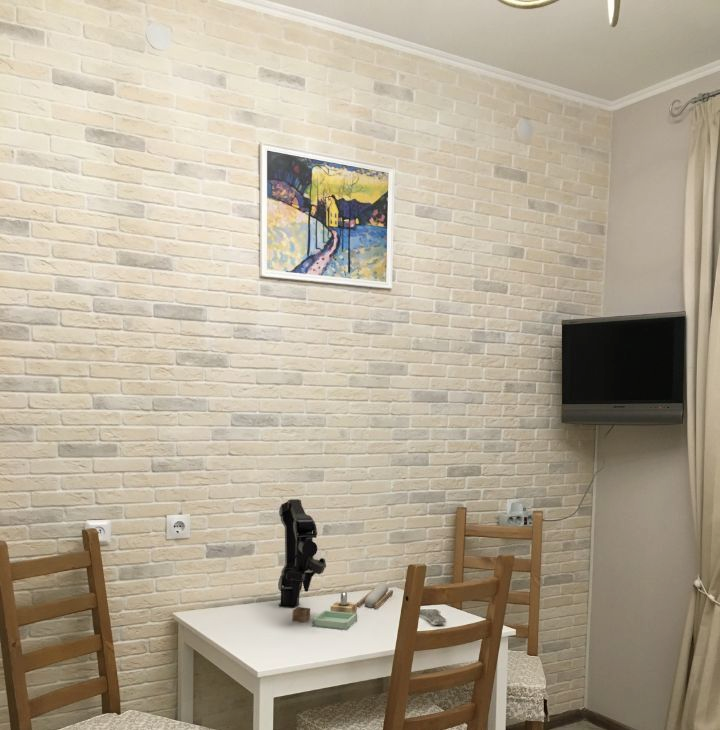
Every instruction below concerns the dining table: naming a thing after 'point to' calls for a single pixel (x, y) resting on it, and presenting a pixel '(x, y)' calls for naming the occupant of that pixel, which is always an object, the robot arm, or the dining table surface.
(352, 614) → the tray
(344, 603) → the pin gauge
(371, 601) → the tube
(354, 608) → the oak block
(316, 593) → the dining table surface
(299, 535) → the robot arm
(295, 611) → the walnut block
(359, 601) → the tube rest
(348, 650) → the dining table surface
